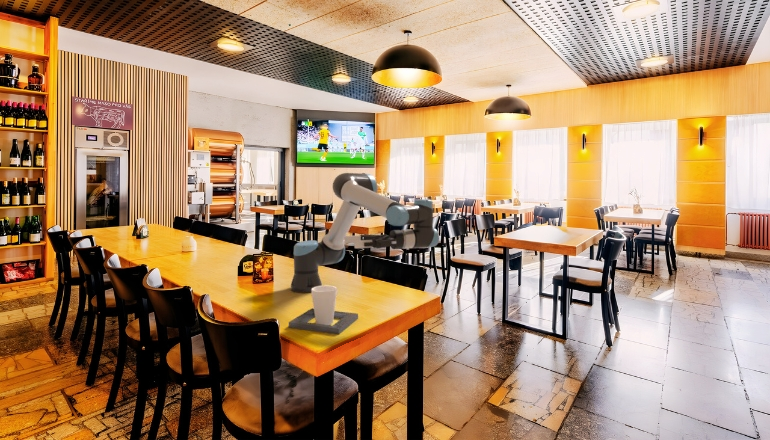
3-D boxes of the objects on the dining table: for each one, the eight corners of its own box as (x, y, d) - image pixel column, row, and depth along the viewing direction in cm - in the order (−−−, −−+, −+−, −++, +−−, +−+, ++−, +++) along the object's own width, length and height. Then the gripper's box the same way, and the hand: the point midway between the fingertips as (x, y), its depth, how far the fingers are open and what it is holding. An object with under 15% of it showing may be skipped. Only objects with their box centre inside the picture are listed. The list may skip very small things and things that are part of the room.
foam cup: (313, 318, 153) (312, 285, 151) (337, 318, 153) (337, 285, 152) (310, 327, 143) (310, 292, 142) (336, 327, 144) (336, 291, 143)
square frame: (288, 327, 143) (288, 322, 143) (311, 313, 159) (311, 308, 159) (339, 334, 137) (339, 328, 137) (358, 318, 153) (358, 313, 153)
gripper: (414, 253, 146) (359, 257, 138) (389, 244, 169) (340, 247, 161) (415, 233, 145) (359, 236, 137) (389, 226, 168) (340, 228, 160)
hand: (349, 242), depth 149 cm, fingers open, 13 cm apart
